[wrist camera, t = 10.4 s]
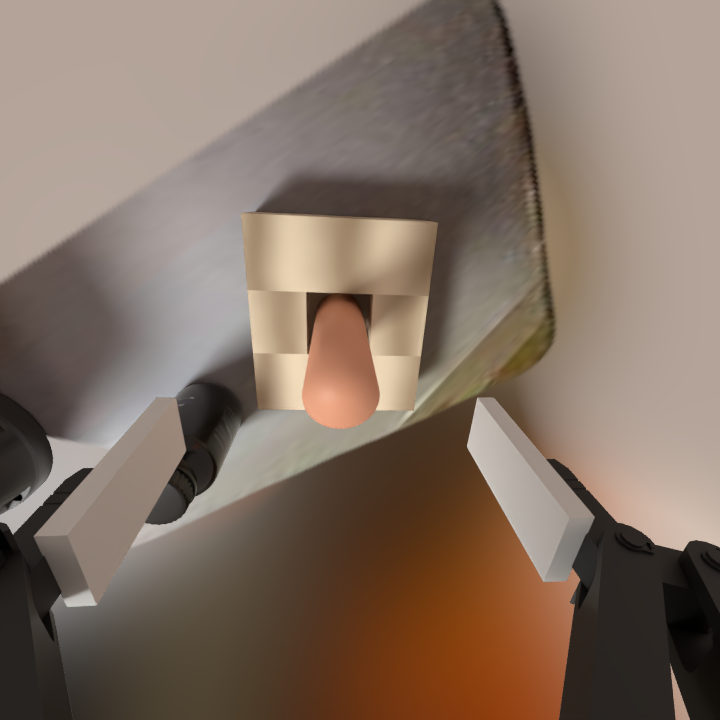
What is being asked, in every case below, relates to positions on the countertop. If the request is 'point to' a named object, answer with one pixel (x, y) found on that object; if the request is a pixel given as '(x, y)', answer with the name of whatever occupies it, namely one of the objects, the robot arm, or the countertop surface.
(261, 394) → the bore block
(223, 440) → the supplement bottle
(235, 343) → the countertop surface
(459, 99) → the countertop surface
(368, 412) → the terracotta dowel
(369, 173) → the countertop surface
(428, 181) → the countertop surface
